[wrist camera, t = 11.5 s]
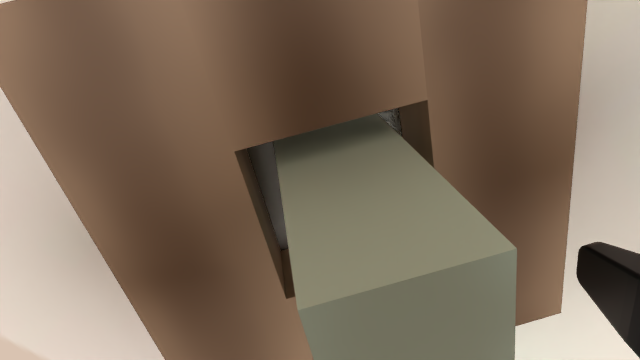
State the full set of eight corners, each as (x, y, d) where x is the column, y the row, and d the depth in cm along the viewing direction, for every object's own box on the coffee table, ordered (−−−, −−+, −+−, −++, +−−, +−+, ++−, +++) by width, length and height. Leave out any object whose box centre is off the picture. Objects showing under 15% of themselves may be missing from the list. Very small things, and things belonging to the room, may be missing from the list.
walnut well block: (524, -115, 12) (599, -144, 10) (518, 269, 20) (560, 312, 17) (23, 9, 12) (-44, 14, 9) (208, 359, 19) (201, 419, 16)
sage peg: (374, 110, 15) (517, 248, 7) (388, 199, 17) (513, 389, 9) (272, 137, 15) (297, 310, 7) (297, 223, 17) (341, 441, 9)
